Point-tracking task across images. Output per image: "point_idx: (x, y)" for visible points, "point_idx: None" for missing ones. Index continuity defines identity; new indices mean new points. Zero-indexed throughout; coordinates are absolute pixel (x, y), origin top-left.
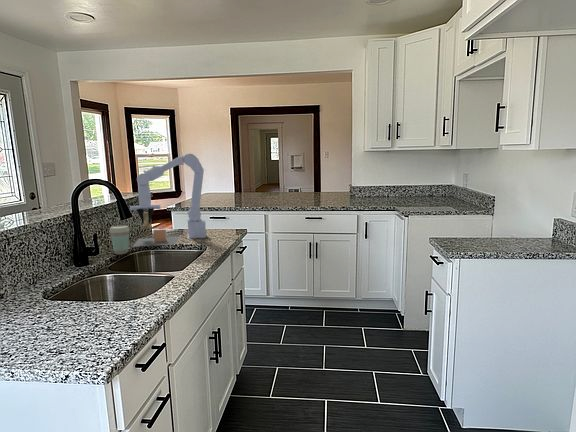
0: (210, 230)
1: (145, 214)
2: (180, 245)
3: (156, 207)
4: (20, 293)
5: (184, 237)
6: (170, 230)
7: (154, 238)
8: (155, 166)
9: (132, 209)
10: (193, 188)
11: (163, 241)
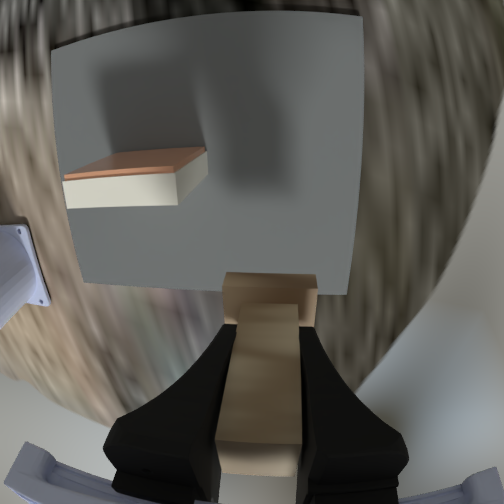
0: (21, 369)
1: (262, 422)
2: (33, 47)
3: (69, 488)
4: None
5: (56, 270)
6: None
7: (194, 149)
8: None
9: (470, 485)
10: None
11: (135, 144)
